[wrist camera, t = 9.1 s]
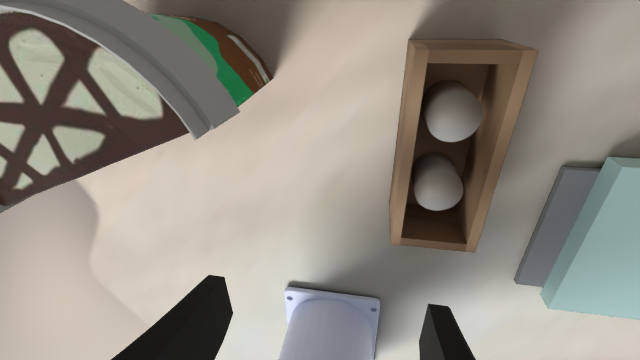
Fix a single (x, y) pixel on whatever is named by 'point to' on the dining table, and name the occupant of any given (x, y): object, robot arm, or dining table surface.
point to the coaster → (555, 223)
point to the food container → (108, 86)
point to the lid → (602, 248)
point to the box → (453, 137)
